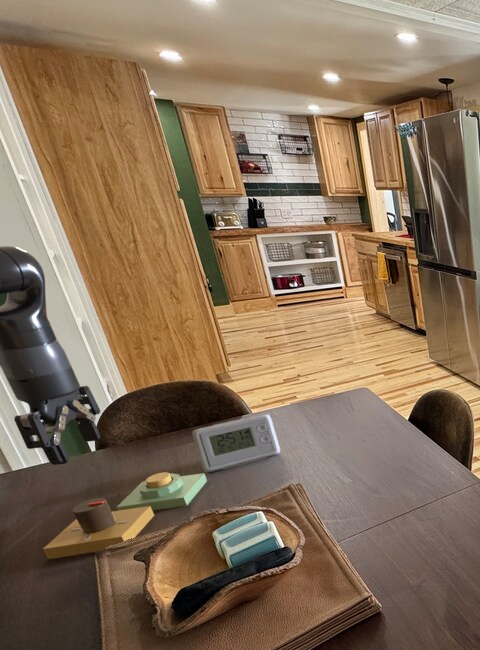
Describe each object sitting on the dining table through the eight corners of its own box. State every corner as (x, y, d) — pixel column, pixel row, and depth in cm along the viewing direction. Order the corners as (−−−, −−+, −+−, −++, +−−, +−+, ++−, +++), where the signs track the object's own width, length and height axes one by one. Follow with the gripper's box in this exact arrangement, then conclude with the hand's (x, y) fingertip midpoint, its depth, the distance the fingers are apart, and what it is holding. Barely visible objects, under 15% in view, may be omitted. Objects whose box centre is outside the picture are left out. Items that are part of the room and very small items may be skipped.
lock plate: (48, 559, 88) (41, 548, 87) (84, 526, 97) (78, 515, 96) (126, 546, 92) (121, 535, 91) (154, 515, 100) (150, 505, 99)
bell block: (119, 515, 100) (112, 500, 99) (146, 489, 109) (139, 474, 108) (187, 505, 104) (181, 490, 102) (207, 480, 112) (201, 466, 111)
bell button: (144, 490, 103) (141, 483, 102) (154, 480, 106) (151, 473, 106) (166, 487, 104) (163, 480, 103) (175, 477, 107) (173, 471, 107)
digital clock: (200, 476, 114) (186, 437, 110) (210, 458, 122) (196, 421, 118) (279, 460, 121) (268, 423, 117) (283, 445, 128) (273, 409, 124)
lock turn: (77, 535, 91) (65, 513, 89) (92, 520, 95) (81, 498, 93) (106, 531, 92) (95, 508, 90) (120, 516, 96) (110, 494, 94)
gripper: (42, 357, 86) (78, 436, 92) (-28, 386, 73) (20, 475, 79) (93, 354, 88) (126, 431, 94) (34, 381, 75) (76, 468, 82)
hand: (77, 451), depth 87 cm, fingers open, 8 cm apart
